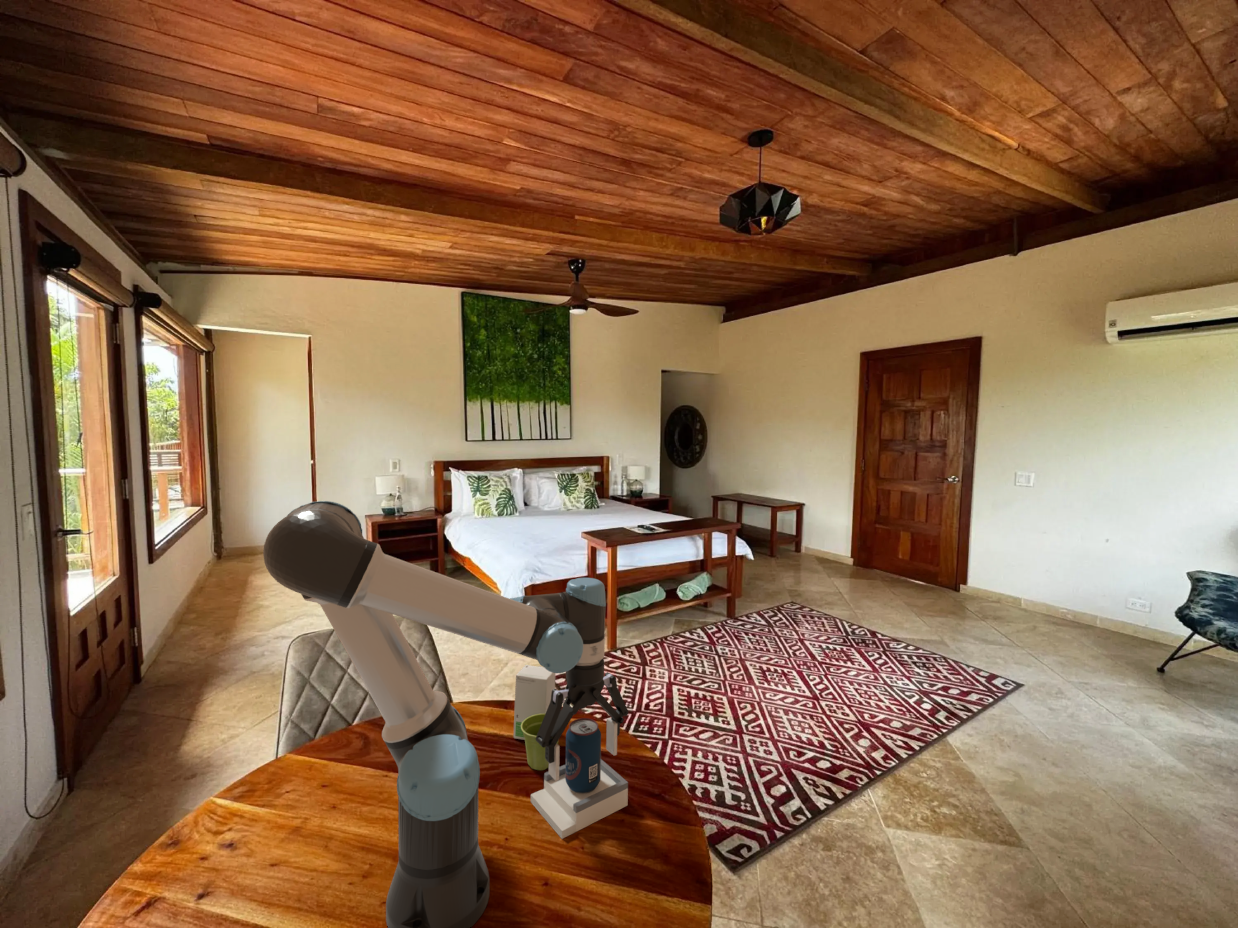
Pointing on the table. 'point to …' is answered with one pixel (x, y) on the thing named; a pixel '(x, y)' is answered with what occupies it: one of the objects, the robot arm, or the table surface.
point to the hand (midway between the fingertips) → (583, 763)
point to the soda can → (583, 756)
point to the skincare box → (531, 694)
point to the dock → (579, 801)
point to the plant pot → (534, 742)
